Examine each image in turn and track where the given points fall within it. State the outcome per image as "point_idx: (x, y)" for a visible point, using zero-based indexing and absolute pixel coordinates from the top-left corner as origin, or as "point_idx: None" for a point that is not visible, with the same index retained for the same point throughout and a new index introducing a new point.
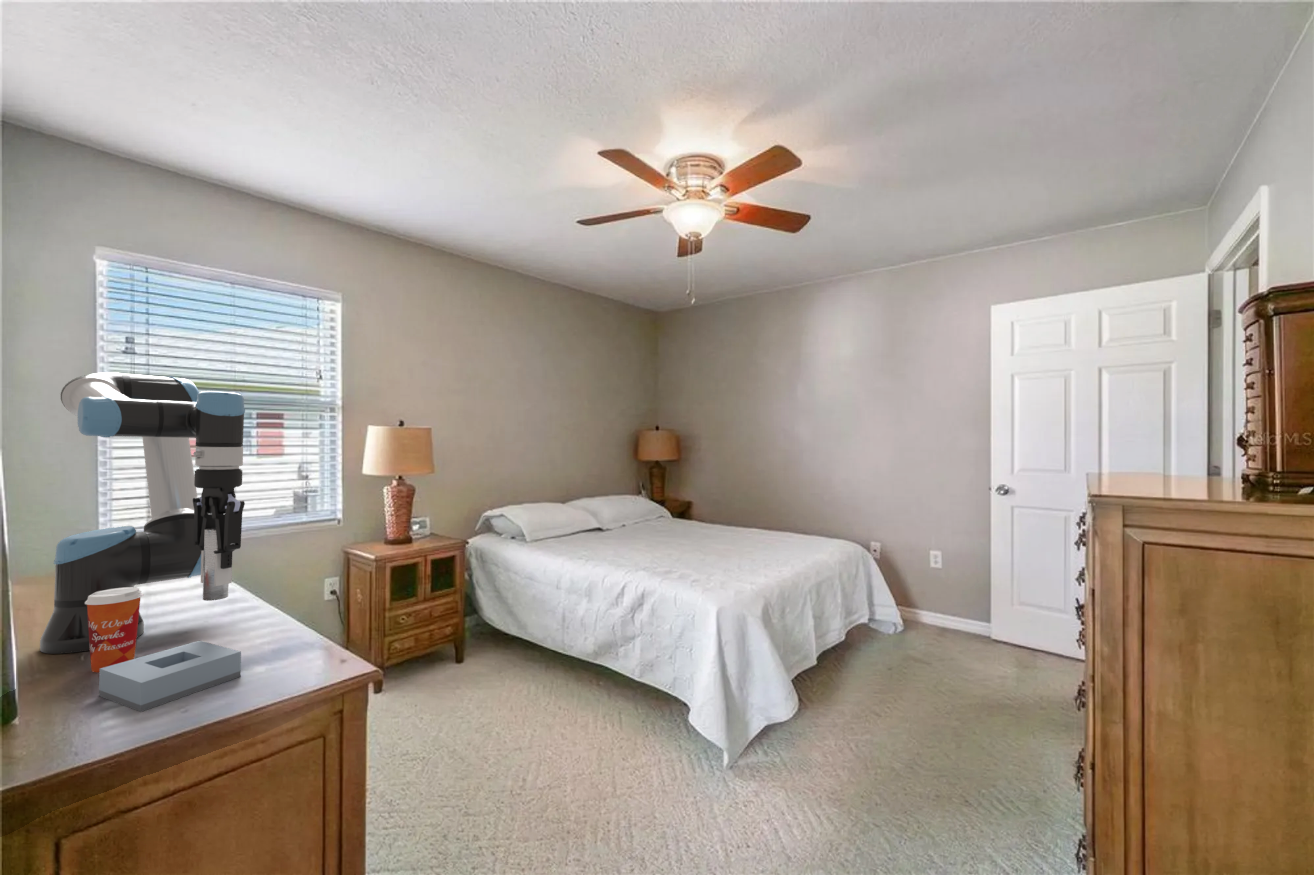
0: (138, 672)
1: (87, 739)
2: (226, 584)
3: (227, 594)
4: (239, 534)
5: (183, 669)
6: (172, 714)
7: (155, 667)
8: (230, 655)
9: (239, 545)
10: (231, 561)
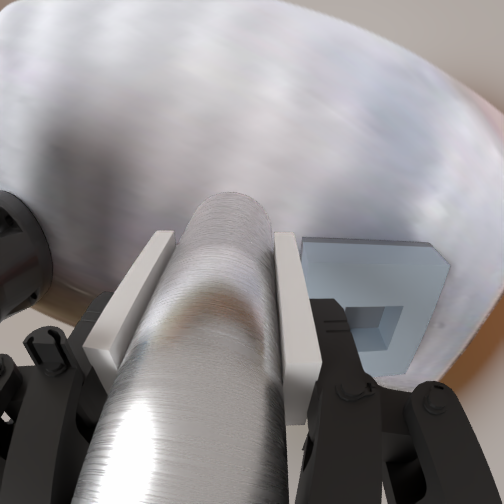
0: (367, 367)
1: (397, 380)
2: (267, 237)
3: (261, 210)
4: (485, 489)
5: (421, 338)
6: (434, 334)
7: (373, 352)
8: (443, 280)
9: (455, 407)
10: (346, 327)
